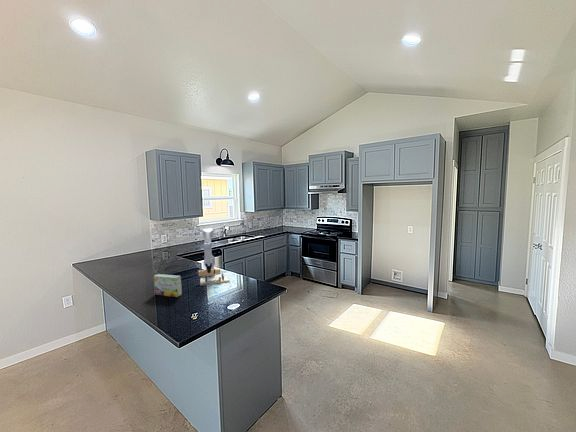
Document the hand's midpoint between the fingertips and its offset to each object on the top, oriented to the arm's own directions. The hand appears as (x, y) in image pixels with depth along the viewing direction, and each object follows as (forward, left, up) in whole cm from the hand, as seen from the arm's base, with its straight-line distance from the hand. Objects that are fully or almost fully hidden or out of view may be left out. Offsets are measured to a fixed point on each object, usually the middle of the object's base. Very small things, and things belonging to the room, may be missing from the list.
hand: (209, 272), depth 228 cm
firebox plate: (0, +4, -8) cm, 9 cm away
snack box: (+20, -31, -9) cm, 38 cm away
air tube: (0, 0, -2) cm, 2 cm away
